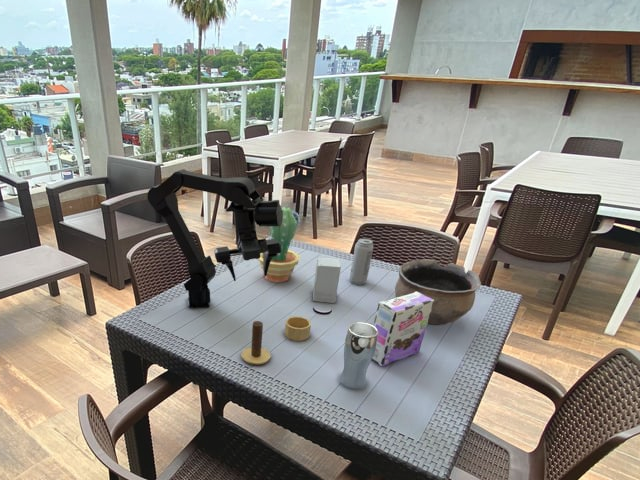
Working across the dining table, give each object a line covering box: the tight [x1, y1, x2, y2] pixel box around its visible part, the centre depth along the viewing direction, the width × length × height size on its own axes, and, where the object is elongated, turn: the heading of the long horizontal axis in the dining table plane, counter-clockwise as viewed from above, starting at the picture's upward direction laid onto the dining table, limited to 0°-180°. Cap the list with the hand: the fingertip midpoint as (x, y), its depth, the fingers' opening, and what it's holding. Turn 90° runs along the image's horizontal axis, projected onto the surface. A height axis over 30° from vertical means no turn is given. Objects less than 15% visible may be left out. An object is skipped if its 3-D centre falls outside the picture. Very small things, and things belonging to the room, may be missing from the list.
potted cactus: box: [257, 206, 301, 283], centre depth 152 cm, size 15×15×25 cm
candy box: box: [371, 292, 434, 367], centre depth 112 cm, size 14×6×16 cm, turn 117°
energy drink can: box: [349, 238, 375, 285], centre depth 152 cm, size 6×6×15 cm
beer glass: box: [339, 321, 378, 390], centre depth 103 cm, size 7×7×15 cm
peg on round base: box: [241, 320, 271, 365], centre depth 113 cm, size 8×8×11 cm
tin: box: [284, 315, 312, 342], centre depth 124 cm, size 7×7×4 cm
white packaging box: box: [312, 257, 342, 304], centre depth 142 cm, size 7×7×13 cm
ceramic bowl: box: [394, 258, 482, 326], centre depth 130 cm, size 22×22×15 cm
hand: (250, 278), depth 130 cm, fingers open, 9 cm apart
